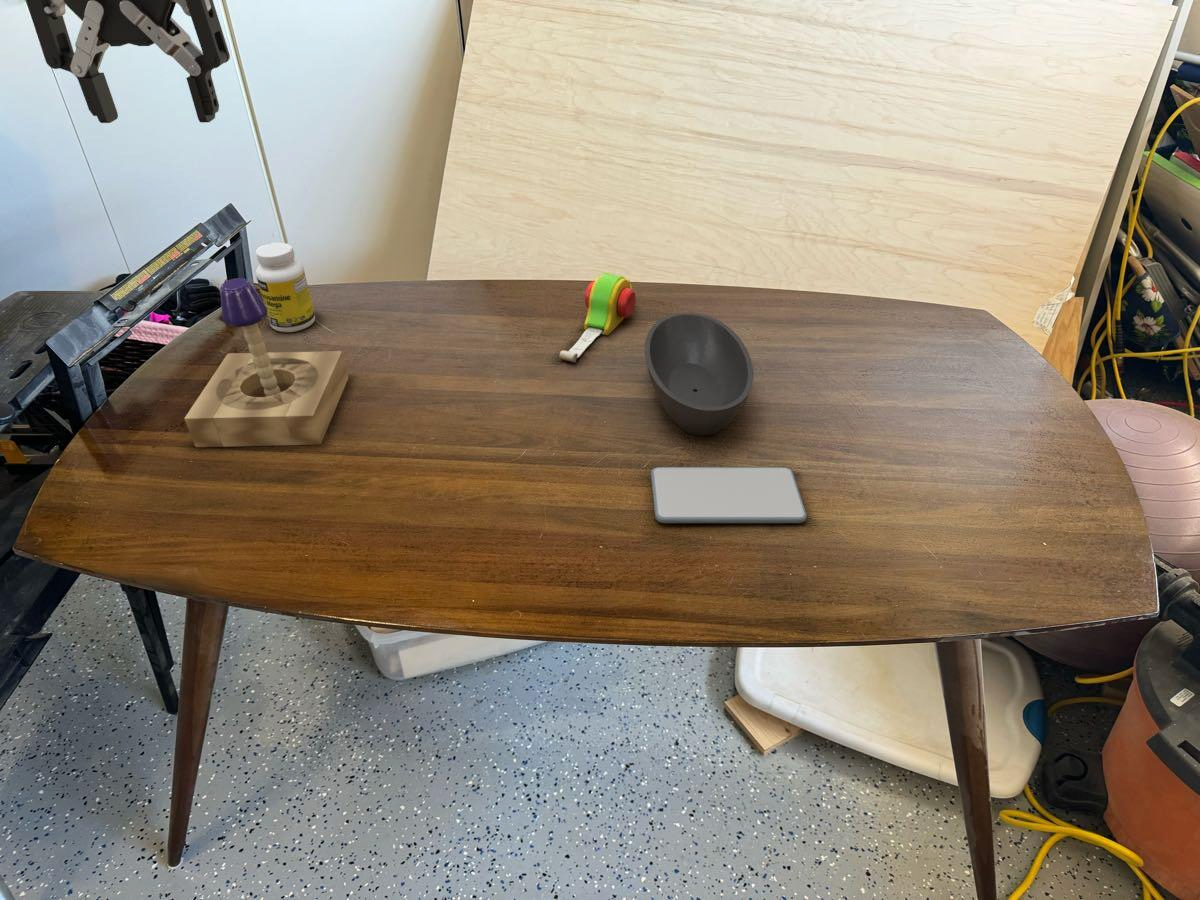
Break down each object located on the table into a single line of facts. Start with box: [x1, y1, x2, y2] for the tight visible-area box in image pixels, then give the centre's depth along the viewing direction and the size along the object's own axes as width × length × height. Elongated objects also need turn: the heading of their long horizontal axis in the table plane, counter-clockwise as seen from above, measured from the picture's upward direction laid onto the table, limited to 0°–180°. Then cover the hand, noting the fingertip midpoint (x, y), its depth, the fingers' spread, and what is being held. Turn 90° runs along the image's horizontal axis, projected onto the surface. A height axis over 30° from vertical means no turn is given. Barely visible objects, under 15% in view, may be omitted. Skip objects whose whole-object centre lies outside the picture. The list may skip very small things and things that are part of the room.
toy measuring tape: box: [558, 272, 637, 363], centre depth 108 cm, size 6×20×7 cm, turn 154°
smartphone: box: [650, 466, 808, 524], centre depth 81 cm, size 8×1×15 cm
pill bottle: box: [255, 242, 316, 333], centre depth 109 cm, size 6×6×11 cm
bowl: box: [644, 312, 754, 437], centre depth 94 cm, size 12×22×6 cm, turn 3°
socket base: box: [183, 350, 349, 448], centre depth 94 cm, size 14×14×4 cm
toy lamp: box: [220, 277, 281, 397], centre depth 90 cm, size 5×5×17 cm
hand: (159, 120), depth 70 cm, fingers open, 8 cm apart
